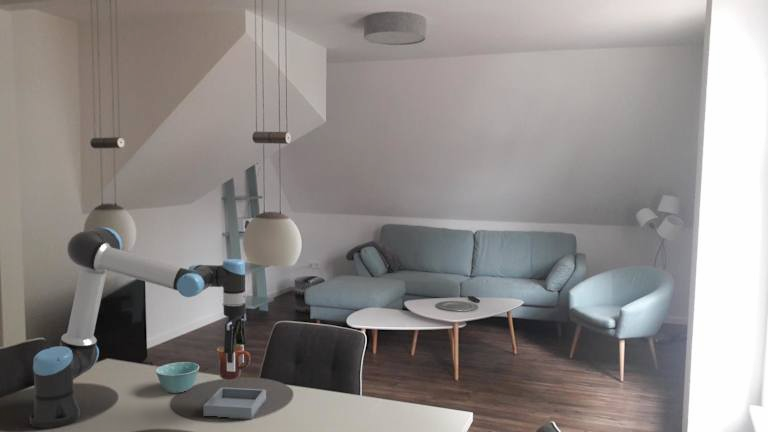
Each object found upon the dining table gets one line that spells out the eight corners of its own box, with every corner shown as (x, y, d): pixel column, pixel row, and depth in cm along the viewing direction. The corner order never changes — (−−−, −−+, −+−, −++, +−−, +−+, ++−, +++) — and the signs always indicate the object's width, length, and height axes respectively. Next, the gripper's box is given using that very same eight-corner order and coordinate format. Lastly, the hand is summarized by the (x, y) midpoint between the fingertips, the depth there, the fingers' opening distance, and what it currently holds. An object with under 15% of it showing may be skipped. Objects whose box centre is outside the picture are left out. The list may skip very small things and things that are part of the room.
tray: (203, 416, 219) (203, 405, 218) (221, 397, 235) (221, 387, 235) (251, 419, 217) (251, 407, 216) (266, 400, 234) (266, 389, 233)
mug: (212, 380, 222) (212, 351, 221) (224, 371, 231) (223, 344, 229) (244, 382, 220) (244, 354, 218) (255, 374, 228) (254, 346, 227)
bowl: (149, 388, 244) (149, 367, 244) (188, 378, 255) (188, 358, 254) (166, 400, 233) (166, 378, 232) (206, 389, 243) (206, 368, 243)
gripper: (234, 311, 212) (235, 377, 214) (254, 297, 233) (255, 357, 235) (212, 310, 212) (214, 376, 215) (234, 296, 233) (235, 356, 236)
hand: (235, 366), depth 225 cm, fingers closed on mug, 8 cm apart
